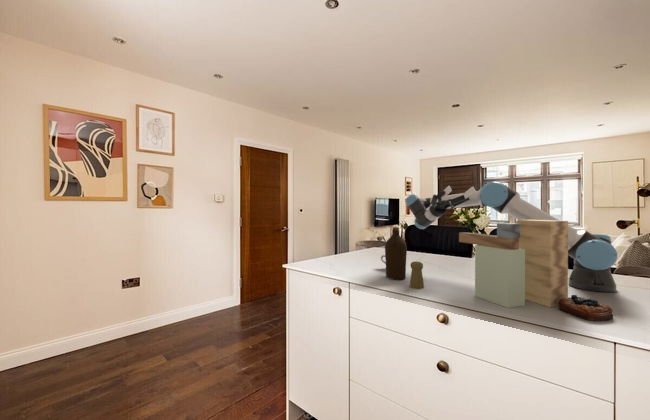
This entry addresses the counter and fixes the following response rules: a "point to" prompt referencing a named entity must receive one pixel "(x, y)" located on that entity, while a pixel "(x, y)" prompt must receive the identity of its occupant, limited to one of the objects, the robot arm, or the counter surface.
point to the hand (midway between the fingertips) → (462, 188)
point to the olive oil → (395, 256)
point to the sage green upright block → (500, 275)
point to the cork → (416, 275)
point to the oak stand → (545, 260)
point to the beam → (495, 237)
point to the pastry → (585, 308)
